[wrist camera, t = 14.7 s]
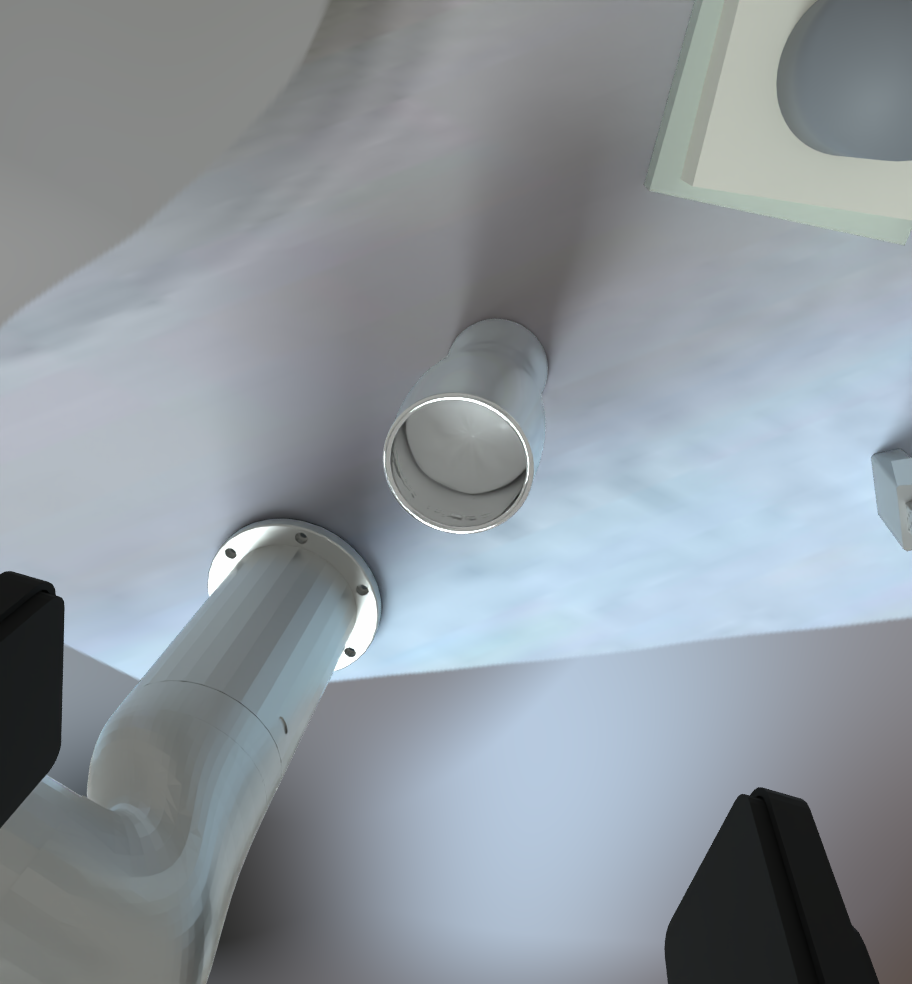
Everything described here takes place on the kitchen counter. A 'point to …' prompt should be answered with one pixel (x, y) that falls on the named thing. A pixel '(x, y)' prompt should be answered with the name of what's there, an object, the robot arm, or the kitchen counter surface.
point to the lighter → (894, 493)
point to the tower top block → (775, 126)
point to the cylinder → (850, 79)
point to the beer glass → (471, 431)
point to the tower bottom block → (668, 181)
